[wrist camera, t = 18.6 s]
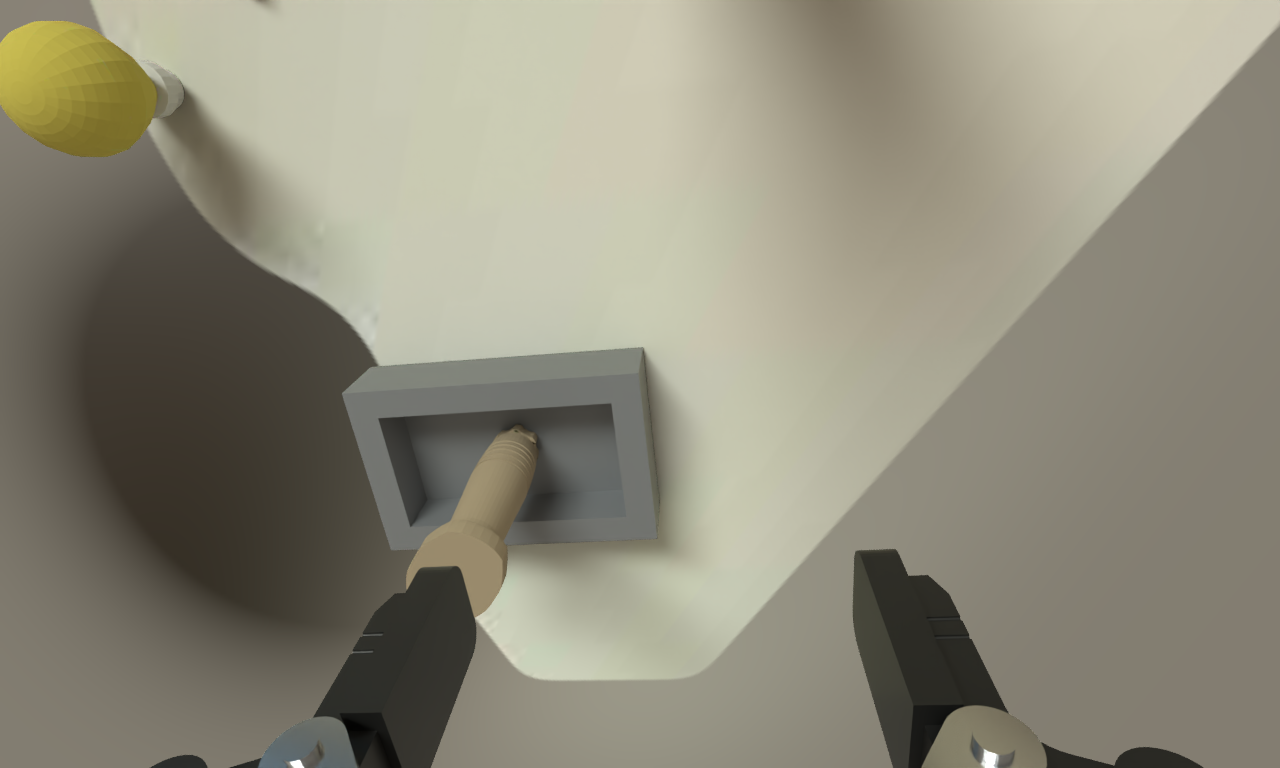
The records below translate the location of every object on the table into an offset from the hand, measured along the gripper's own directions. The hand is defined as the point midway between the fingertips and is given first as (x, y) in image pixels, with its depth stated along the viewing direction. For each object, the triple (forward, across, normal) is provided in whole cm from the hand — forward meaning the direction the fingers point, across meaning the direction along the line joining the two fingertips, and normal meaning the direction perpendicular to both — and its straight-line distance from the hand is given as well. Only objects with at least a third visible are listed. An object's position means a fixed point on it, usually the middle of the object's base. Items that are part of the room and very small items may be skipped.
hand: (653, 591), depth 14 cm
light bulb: (+33, +31, -12) cm, 47 cm away
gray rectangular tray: (+33, +13, +14) cm, 38 cm away
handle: (+32, +13, +14) cm, 37 cm away
